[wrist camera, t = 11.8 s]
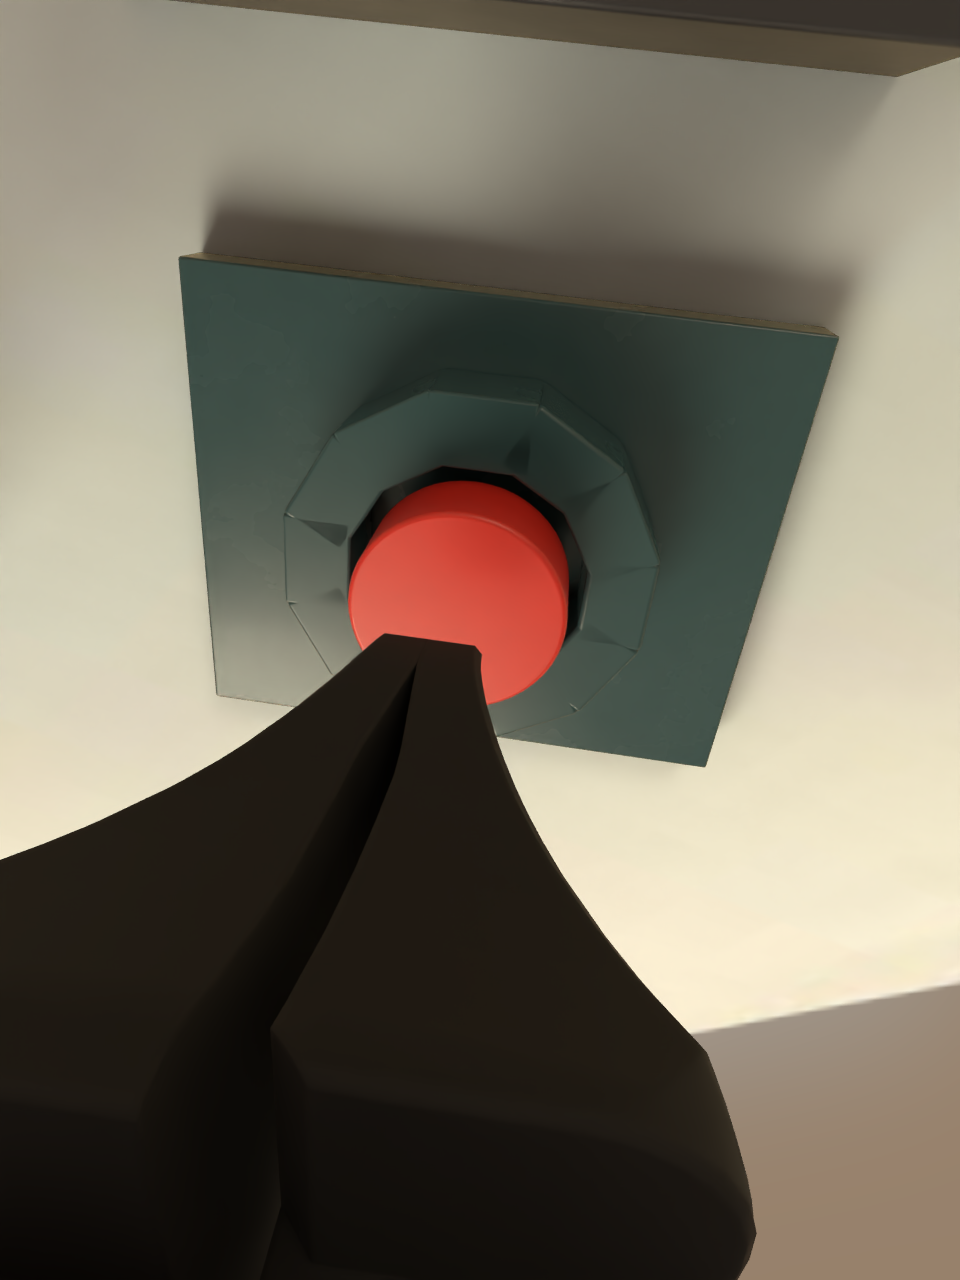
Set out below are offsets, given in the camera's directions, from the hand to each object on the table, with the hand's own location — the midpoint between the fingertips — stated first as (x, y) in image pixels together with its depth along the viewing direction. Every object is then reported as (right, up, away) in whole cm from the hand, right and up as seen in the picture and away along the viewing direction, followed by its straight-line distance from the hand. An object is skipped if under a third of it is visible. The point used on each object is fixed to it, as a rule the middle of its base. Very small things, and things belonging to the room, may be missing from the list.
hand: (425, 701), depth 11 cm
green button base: (+1, +3, +5) cm, 6 cm away
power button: (+1, +2, +3) cm, 4 cm away
